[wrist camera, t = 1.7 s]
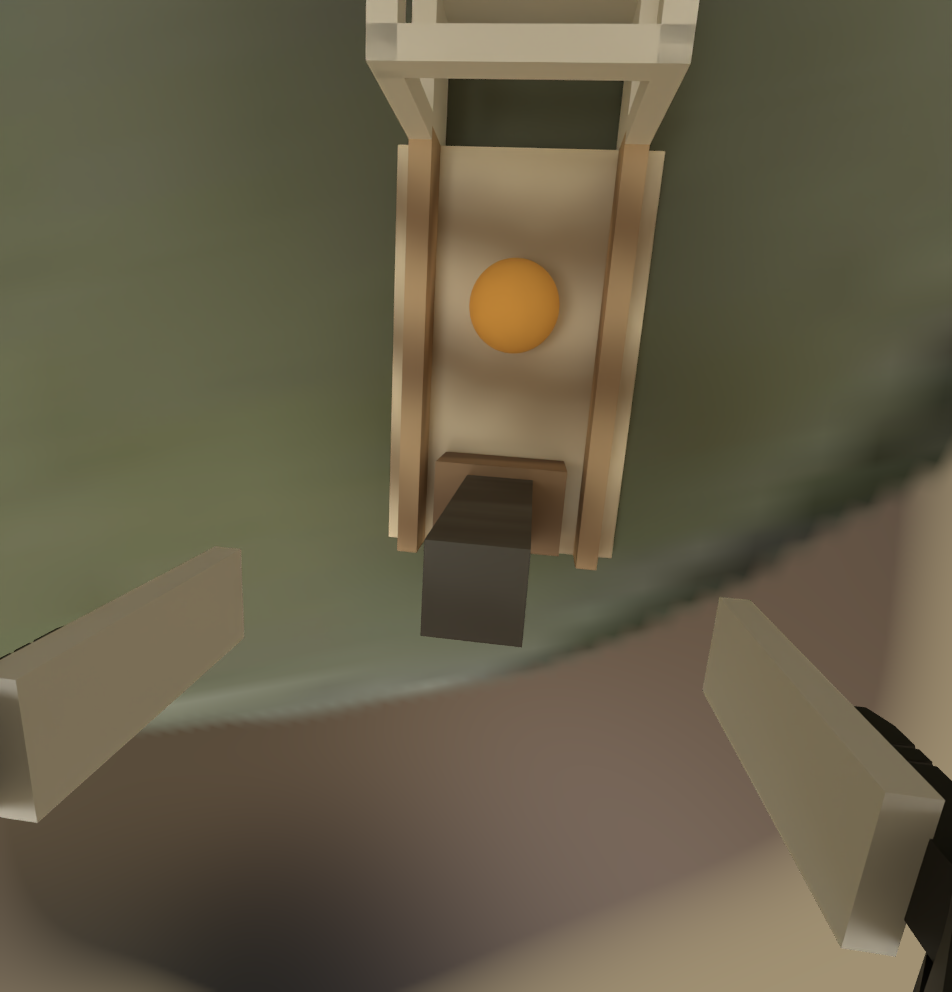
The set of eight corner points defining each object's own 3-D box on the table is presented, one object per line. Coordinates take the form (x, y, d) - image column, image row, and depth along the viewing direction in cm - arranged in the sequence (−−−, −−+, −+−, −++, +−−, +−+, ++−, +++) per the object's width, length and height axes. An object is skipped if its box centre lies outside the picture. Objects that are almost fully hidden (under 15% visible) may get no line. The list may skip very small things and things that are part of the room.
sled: (446, 451, 27) (372, 517, 15) (564, 461, 26) (587, 537, 14) (442, 525, 28) (371, 645, 16) (555, 536, 27) (572, 668, 15)
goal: (429, 6, 24) (367, -205, 15) (655, 6, 23) (729, -219, 14) (424, 167, 25) (365, 60, 17) (635, 173, 24) (690, 63, 16)
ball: (477, 265, 25) (466, 246, 21) (561, 269, 25) (566, 250, 21) (472, 352, 26) (461, 348, 22) (553, 357, 25) (556, 354, 22)
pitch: (404, 154, 25) (386, 125, 22) (658, 161, 24) (676, 131, 21) (394, 530, 30) (378, 548, 27) (608, 550, 29) (617, 572, 26)
